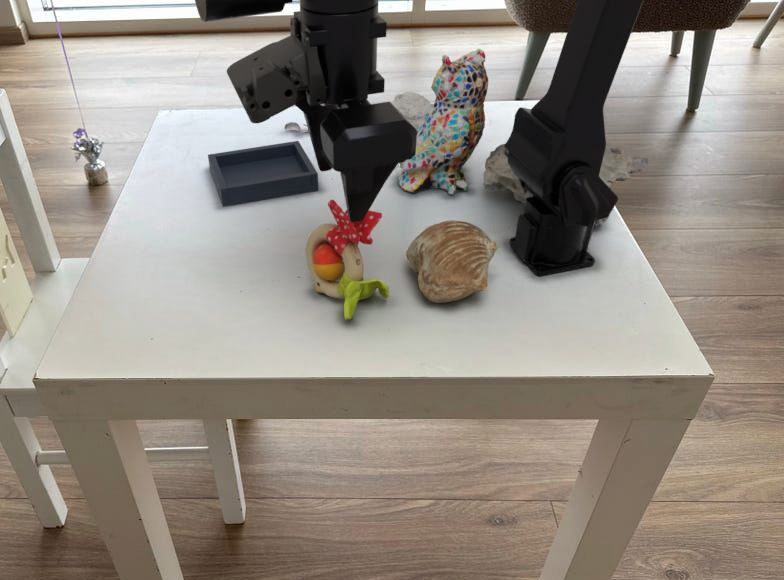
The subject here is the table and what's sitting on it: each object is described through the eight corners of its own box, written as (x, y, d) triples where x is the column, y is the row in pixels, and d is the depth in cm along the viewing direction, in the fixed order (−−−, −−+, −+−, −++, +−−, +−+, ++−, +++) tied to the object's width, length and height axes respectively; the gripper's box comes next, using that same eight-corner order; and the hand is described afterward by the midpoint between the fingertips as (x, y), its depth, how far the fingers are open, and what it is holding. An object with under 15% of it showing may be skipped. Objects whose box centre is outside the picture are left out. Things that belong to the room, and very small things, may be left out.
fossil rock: (463, 171, 87) (514, 247, 77) (478, 126, 83) (533, 199, 73) (612, 174, 92) (678, 246, 82) (632, 132, 88) (704, 201, 78)
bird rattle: (301, 323, 73) (365, 331, 66) (263, 217, 68) (328, 214, 61) (344, 295, 76) (410, 300, 69) (310, 192, 72) (377, 186, 65)
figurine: (415, 157, 93) (423, 33, 83) (485, 169, 90) (502, 43, 80) (390, 188, 87) (396, 60, 77) (464, 203, 84) (480, 71, 74)
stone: (414, 136, 92) (369, 92, 97) (407, 166, 96) (365, 122, 101) (475, 115, 95) (430, 73, 100) (466, 144, 99) (423, 103, 104)
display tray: (299, 157, 94) (298, 140, 93) (318, 190, 88) (317, 173, 86) (210, 171, 92) (207, 154, 91) (222, 206, 86) (220, 189, 84)
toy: (343, 132, 98) (344, 123, 99) (284, 126, 98) (285, 118, 100) (342, 140, 99) (344, 132, 100) (283, 134, 99) (285, 126, 101)
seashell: (475, 263, 77) (399, 263, 76) (489, 202, 72) (408, 201, 72) (499, 315, 69) (415, 316, 69) (515, 251, 65) (426, 250, 64)
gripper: (208, -20, 59) (229, 160, 69) (257, 61, 45) (273, 270, 56) (342, -35, 61) (342, 143, 71) (426, 38, 47) (412, 244, 58)
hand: (339, 194), depth 64 cm, fingers open, 9 cm apart
